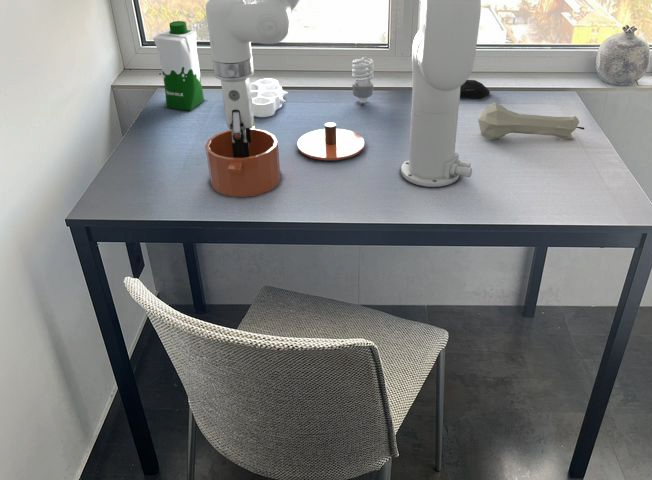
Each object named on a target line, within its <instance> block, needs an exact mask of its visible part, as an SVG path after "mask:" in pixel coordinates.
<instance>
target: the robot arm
mask: <svg viewBox="0 0 652 480" xmlns="http://www.w3.org/2000/svg"><path fill="white" fill-rule="evenodd" d="M300 1H301V0H251V3H247V2H246V1H245V0H208V1H207V2H206V4H205V16H206V23H207V30H208V31H207V33H208V39H209V46H210V47H209V48H210V55H211V61H212V62H211V63H212V69H213V76H214V78H216V79H217V80H220V83H221V84H220V85H221V93H222V100H223V107H224V114H225V115H224V116H225V120H226V126H227V129H228V130H231V131H232V149H233V157H234V158H245V157H250V153H249V144H248V143H251V134H250V129H251V128H252V127H253V118H254V117H255V116H254V110H253V102H252V94H251V85H250V83H251V79H250V78H251V77H252V76H253V75H254V72H255V71H254V62H253V61H254V60H253V51H252V44H251V43H256V44H262V45H275V44H278V43H281V42H283V40H284V39H285V38H286V37H287V36H288V34H289V31H290V27H291V26H290V25H291V15H292V13H293V11H294V10H295V8H296V7H297V5H298V4H299V3H300ZM481 1H482V0H420V3H421V4H422V7H423V9H424V11H425V22H424V24H423V25H422V26H421V27H420V29H418V31H417V33H416V34H415V36H414V39H413V42H412V48H411V65H412V66H411V69H412V71H411V72H412V85H411V86H412V87H411V89H412V91H411V109H410V127H409V129H410V131H409V150H408V151H409V154H408V159H407V160H405V161H404V162H403V163H402V165H401V168H400V173H401V175H402V177H403V178H404V180H406V181H408V182H409V183H412V184H414V185H415V186H416V185H417V186H421V187H427V188H429V187H430V188H439V187H445V186H449V185H451V184H453V183H455V182H456V181H458V180H459V178H460V177H464V178H471V177H472V174H473V168H472V167H471V163H470V162H463V161H461V160H460V159H459V155H460V154H459V153H458V152H456V142H457V141H456V140H457V131H458V121H459V120H458V118H459V110H460V109H459V108H460V100H461V98H460V86H461V85H463V84H464V83H465V82H466V80H469V78H470V76H471V74H472V71H473V69H474V66H475V65H474V64H475V61H476V60H475V59H476V52H477V44H478V37H479V28H480V20H481V14H482V13H481V10H482V2H481ZM254 119H255V118H254Z"/></svg>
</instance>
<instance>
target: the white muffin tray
mask: <svg viewBox="0 0 652 480" xmlns="http://www.w3.org/2000/svg"><path fill="white" fill-rule="evenodd" d="M250 85H251V94H252V102H253V110H254V117H255V118H269V117H273V116H274V115H276V111H278V110H279V109H281V108H282V106H283V104H284V103H287V100H285V99H284V96H285V95H287V94H288V93H289V92H288V91H286V90H284V89H283V87H282V86H281V85H280V84H279V81H278V80H277V79H275V78H270V77H269V78H261V79H258V80H256V81H255V82H250Z"/></svg>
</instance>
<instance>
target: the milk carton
mask: <svg viewBox="0 0 652 480" xmlns="http://www.w3.org/2000/svg"><path fill="white" fill-rule="evenodd" d="M152 39H153V42H154V44H155V47H156V50H157V52H158V57H159V61H160V62H159V63H160V67H161V74H162V79H163V85H164V93H165V102H166V103H165V104H166V108H167V109H174V110H181V111H189V112H191V111H192V110H194V109H195V108H196V107H198V106H199V105H200V104H202V103H203V102H205V97H204V96H205V95H204V91H203V84H202V79H201V77H202V76H201V71H200V63H199V55H198V47H197V31H195V30H189V29H188V27H187V22H186V21H183V20H175V21H171V22H169V28H168V29H166V30H164V31H162V32H160V33H158V34H157V35H156V36H154V37H153V38H152Z"/></svg>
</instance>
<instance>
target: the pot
mask: <svg viewBox="0 0 652 480" xmlns="http://www.w3.org/2000/svg"><path fill="white" fill-rule="evenodd" d="M250 134H251V143H248V144H249V153H250V156H251V157H245V158H234V157H233V149H232V131H231V130H230V129H228V130H225V131H221V132H218V133H216V134H214V135H213V136H211V137H209V139H208V140H207V141H206V143H205V146H204V148H205V154H206V161H207V168H208V173H209V181H210V184H211V187H212V188H213V189H214V191H216V192H217V193H219V194H222V195H224V196H228V197H235V198H247V197H253V196H255V197H256V196H259V195H262V194H265V193H268V192H270V191H271V190H273V189H274V188H276V187H277V186H278V185H279V183H280V180H281V167H280V155H279V142H278V139H277V138H276V136H275V134H273V133H271V132H269V131H267V130H264V129H259V128H256V126H255V125H254V126H253V127H252V128H251V129H250Z"/></svg>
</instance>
